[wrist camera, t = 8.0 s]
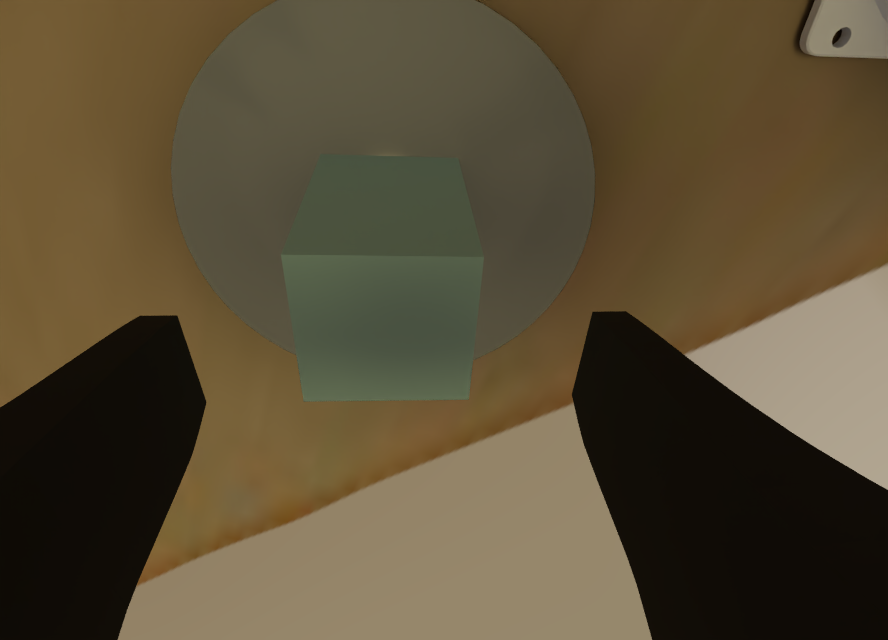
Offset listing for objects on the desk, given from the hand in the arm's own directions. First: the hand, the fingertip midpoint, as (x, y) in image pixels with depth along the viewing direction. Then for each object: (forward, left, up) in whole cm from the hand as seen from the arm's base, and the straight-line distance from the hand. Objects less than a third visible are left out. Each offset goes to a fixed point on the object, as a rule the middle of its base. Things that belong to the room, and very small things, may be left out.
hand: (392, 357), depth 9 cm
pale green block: (0, +1, -8) cm, 8 cm away
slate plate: (0, +1, -9) cm, 9 cm away
